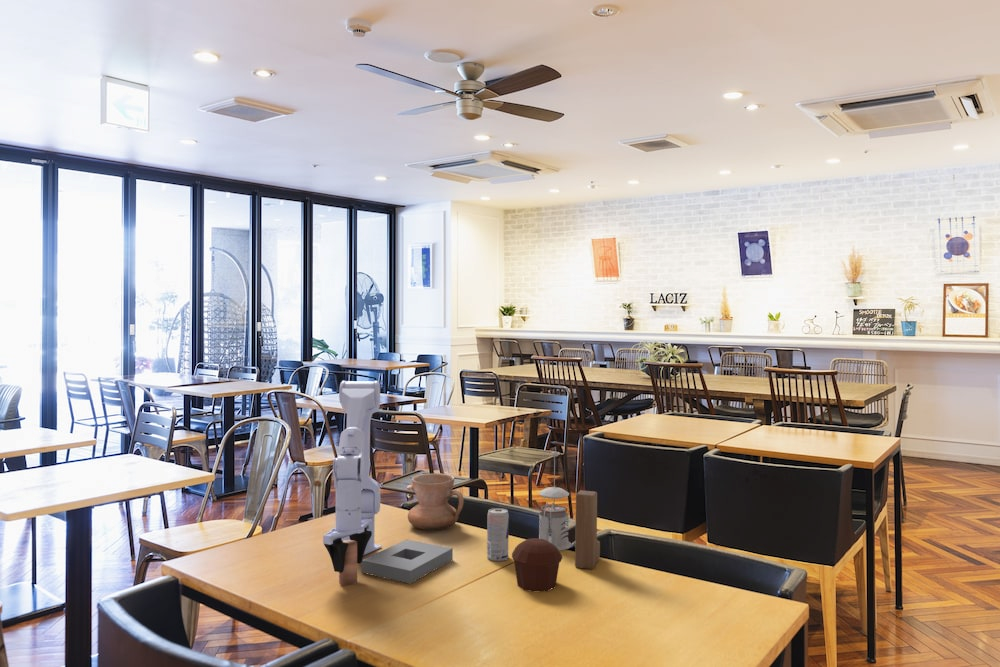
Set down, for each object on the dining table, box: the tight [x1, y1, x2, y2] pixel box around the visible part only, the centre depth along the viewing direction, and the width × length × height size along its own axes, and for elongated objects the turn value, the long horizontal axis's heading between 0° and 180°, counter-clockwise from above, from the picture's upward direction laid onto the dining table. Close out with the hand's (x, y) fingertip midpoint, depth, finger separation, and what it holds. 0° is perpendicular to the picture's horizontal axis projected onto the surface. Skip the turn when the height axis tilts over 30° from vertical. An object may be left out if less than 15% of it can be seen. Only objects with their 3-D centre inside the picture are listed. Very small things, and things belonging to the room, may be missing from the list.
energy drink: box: [486, 507, 510, 562], centre depth 179 cm, size 5×5×12 cm
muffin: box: [511, 537, 563, 592], centre depth 162 cm, size 12×11×10 cm
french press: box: [538, 451, 572, 551], centre depth 189 cm, size 10×12×25 cm
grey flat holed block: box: [361, 539, 454, 584], centre depth 173 cm, size 14×18×3 cm
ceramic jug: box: [406, 473, 465, 531], centre depth 205 cm, size 18×14×14 cm
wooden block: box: [574, 489, 601, 570], centre depth 176 cm, size 9×4×18 cm, turn 161°
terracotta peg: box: [338, 540, 358, 586], centre depth 162 cm, size 4×4×9 cm
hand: (348, 567), depth 162 cm, fingers open, 6 cm apart
